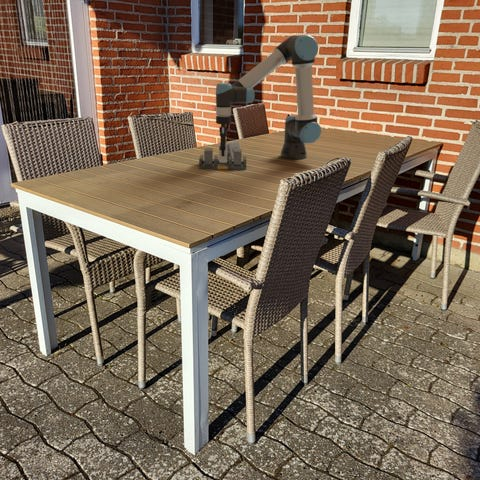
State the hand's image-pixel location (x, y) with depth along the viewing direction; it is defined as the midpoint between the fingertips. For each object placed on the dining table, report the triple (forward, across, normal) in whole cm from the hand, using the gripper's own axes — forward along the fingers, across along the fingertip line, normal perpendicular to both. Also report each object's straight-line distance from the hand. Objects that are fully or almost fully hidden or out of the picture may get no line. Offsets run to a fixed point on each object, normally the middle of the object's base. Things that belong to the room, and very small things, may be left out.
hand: (223, 160), depth 247 cm
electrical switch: (+3, -21, +5) cm, 22 cm away
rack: (+3, 0, 0) cm, 3 cm away
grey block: (0, 0, 0) cm, 0 cm away
